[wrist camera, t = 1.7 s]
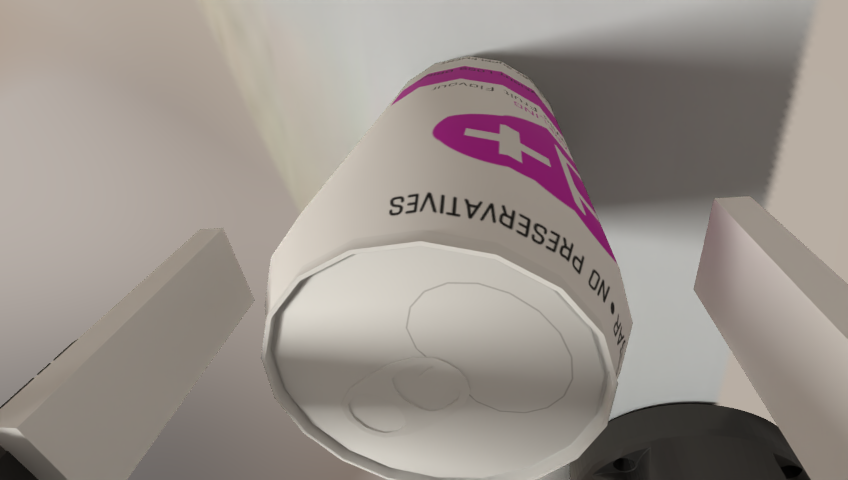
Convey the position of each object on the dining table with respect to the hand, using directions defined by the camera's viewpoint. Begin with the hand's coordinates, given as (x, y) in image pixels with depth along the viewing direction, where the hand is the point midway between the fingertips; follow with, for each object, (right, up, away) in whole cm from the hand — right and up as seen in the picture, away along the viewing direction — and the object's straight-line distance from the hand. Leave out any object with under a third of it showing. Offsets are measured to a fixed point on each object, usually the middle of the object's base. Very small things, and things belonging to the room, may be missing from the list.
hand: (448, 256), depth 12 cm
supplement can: (+2, +5, +9) cm, 11 cm away
